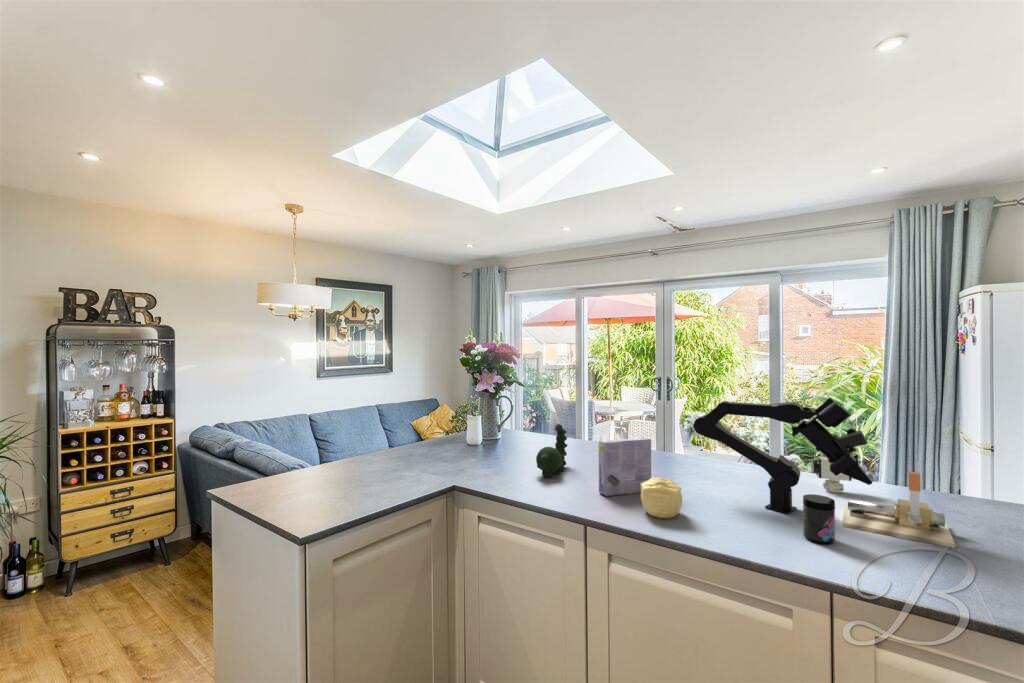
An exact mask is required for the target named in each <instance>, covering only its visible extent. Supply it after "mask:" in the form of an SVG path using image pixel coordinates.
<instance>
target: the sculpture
mask: <svg viewBox="0 0 1024 683" xmlns="http://www.w3.org/2000/svg"><path fill="white" fill-rule="evenodd" d="M641 487H642V491H641V492H640V501H641V505H642V507H643V508H644V510H645V512H646V513H648V515H650V516H652V517H655V518H660V519H672V518H675V517H676V516H677V515H678V514H679V513H680V511H681V509H682V505H683V496H682V487H681V485H679V484H677V483H675V482H674V481H673V479H670V478H664V477H653V476H651V479H650V480H648V481H646V482H643V483H642V484H641Z"/></svg>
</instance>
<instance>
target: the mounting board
mask: <svg viewBox="0 0 1024 683" xmlns="http://www.w3.org/2000/svg"><path fill="white" fill-rule="evenodd" d="M842 527H844V528H850V529H856V530H858V531H859V530H860V531H865V532H866V531H867V532H872V533H874V534H875V533H877V534H882V535H886V536H892V537H896V538H900V539H901V538H902V539H907V540H910V541H911V540H912V541H917V542H922V543H928V544H931V545H932V544H933V545H937V546H944V547H948V548H953V549H955V548H956V543H955V540H954V538H953V535H952V533H951V531H950V529H949V526H948V525H947V523H945V527H943V526H939V527H940V532H936V531H928V530H922V529H917V528H911V527H906V526H900V525H899V522H898V521H895V518H891V517H886V516H880V515H874V514H868V513H864V518H859V517H853V516H850V510H848V506H844V507H843V516H842Z"/></svg>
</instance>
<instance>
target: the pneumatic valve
mask: <svg viewBox="0 0 1024 683" xmlns="http://www.w3.org/2000/svg"><path fill="white" fill-rule="evenodd" d="M810 470H811V472H812V474H815V475H816V477H818V479H825V480H824V482H823V483H822V486H823V487H822V488H823V489H824V490H826V492H827V493H830V494H831V493H832V494H842V492H844V490H845V487H844V484H843V483H840V481H847V482H852V479H853V478H852V477H850V476H847V475H845V474H842V473H840V474H839V475H837V476H835V475H834V474H833V473H832V472H831V471H830V462H829V461H828V458H827V457H825V456H818V455H817V456H816V455H815V458H814V459H812V460H811V461H810Z"/></svg>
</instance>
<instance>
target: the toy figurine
mask: <svg viewBox="0 0 1024 683" xmlns="http://www.w3.org/2000/svg"><path fill="white" fill-rule="evenodd" d="M554 431H555V432H556V435H555V440H556V442H555V445H554V447H552V446H545V447H543V448H541V449H539V451H538V452H537V455H536V456H535V461H536V467H537V469H540V470H541V471H542V472H541V475H542V476H543V477H544V478H546V479H551V478H552V477H553V475H554V472H556V473H557V474H560V473H562V472H563V471H565V468H566V467H565V466H566V465H567V462H566V460H565V457H566V456H567V452H566V448H567V447H568V444H567V443H566V442H565V441H567V439H568V437H567V436H566V434H567V430H565V429H564V428H563V425H562V424H561V423H556V424H555V427H554Z"/></svg>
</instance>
